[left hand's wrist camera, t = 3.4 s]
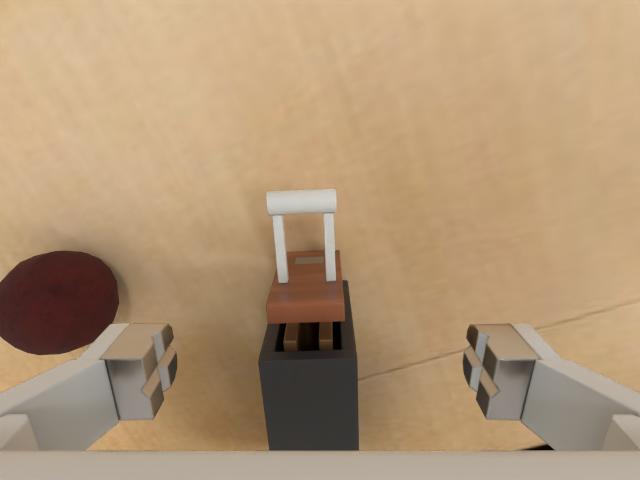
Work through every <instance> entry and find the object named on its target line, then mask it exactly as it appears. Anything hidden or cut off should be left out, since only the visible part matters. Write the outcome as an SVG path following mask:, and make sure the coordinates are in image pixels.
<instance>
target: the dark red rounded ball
mask: <svg viewBox="0 0 640 480" xmlns="http://www.w3.org/2000/svg"><path fill="white" fill-rule="evenodd" d="M118 305H119V298H118V290H117V281H116V279H115V277H114V275H113V273H112V271H111V270H110V268H109V267H108V266H107V265H106V264H104V263H103V262H102V261H101V260H100V259H98V258H96V257H94V256H92V255H89V254H87V253H83V252H74V251H54V252H50V253H46V254H41V255H37V256H34V257H32V258H29V259H27V260H25V261H22V262H20V263H19V264H18V265H17V266H16V267H15V268H14V269H12V270H11V271H10V272H9V273H8V275H7V276H6V277H5V278H4V279H3V280H2V281H1V282H0V337H2V338H3V339H4V340H5V341H7V342H8V343H9V344H11V345H12V346H14V347H15V348H17V349H20V350H22V351H24V352H27V353H31V354H36V355H50V354H62V353H66V352H70V351H73V350H75V349H78V348H80V347H83V346H85V345H88V344H90V343H92V342H94V341H95V340H96V339H97V338H98V337H99V336H100V335H101V334H102V333H103V331H104V330H105V329H106V328H107V327H108V326H109V325H110V324H112V323H113V320H114V318H115V315H116V312H117V308H118Z"/></svg>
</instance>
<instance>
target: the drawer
mask: <svg viewBox="0 0 640 480" xmlns="http://www.w3.org/2000/svg"><path fill="white" fill-rule="evenodd" d="M266 206H267V212H268V214H269V215H273V216H272V221H273V231H274V241H275V252H276V262H277V270H276V273H275V277H274V280H273V284H272V287H271V291H270V294H269V298H268V301H267V305H266V310H267V319H268V324H280V323H287V324H286V330H285V336H284V342H283V343H284V352H288V351H319V350H334V344H333V322H338V321H345V310H344V295H343V284H342V273H341V262H340V252H339V250H335V241H334V214H333V212H337V199H336V189H335V188H333V189H311V190H288V191H268V192H267V195H266ZM306 213H323V221H324V242H325V251H308V252H286V242H285V230H284V219H283V214H306Z"/></svg>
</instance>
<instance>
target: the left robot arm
mask: <svg viewBox="0 0 640 480" xmlns="http://www.w3.org/2000/svg"><path fill="white" fill-rule="evenodd" d="M173 338H174V336H173V331H172V327H171V326H170V325H169V324H146V323H133V324H132V323H114V324H110V325H109V326H108V327H107V328H106V329H105V330H104V331H103V333H102V334H101V335H100V336H99V337H98V338H97V339H96V340H95V341H94V342H93V343H92V344H91V345H90V346H89V347H88V348H87V349H86V351H85V352H84V353H83V354H82V355H81V356H80V357H79V358H78V359H77V360H69V361H67V362H65V363H63V364H61V365H58V366H56V367H54V368H52V369H50V370H48V371H46V372H44V373H42V374H39V375H37V376H35V377H33V378H31V379H29V380H27V381H25V382H22V383H20V384H18V385H16V386H14V387H12V388H10V389H8V390H5V391H3V392H1V393H0V480H640V393H639V392H636V391H634V390H632V389H630V388H628V387H626V386H624V385H622V384H620V383H617V382H615V381H613V380H611V379H609V378H607V377H605V376H603V375H601V374H598V373H596V372H594V371H592V370H590V369H588V368H586V367H584V366H582V365H579V364H577V363H575V362H573V361H571V360H563V359H562V358H561V357H560V356H559V355H558V354H557V353H556V352H555V351H554V349H553V348H552V347H551V346H550V345H549V344H548V343H547V342H546V341H545V340H544V339H543V338H542V337H541V336H540V335H539V334H538V332H537V331H536V330H535V329H534V328H533V327H532V326H531V325H529V324H527V323H508V324H474V325H470V326H469V328H468V330H467V336H466V338H467V340H468V342H469V343H470V346H469V347H468V348H467V349H466V350H465V351H464V356H463V370H464V375H465V378H466V381H467V383H468V385H469V387H470V388H472V389H473V390H475V391H476V392H477V396H476V401H477V402H478V404H479V406H480V408H481V410H482V412H483V414H484V416H485V418H486V419H487V420H521V423H523V424H524V425H525V426H526V427H527V428H529V429H530V430H531V431H532V432H534V433H535V434H536V435H537V436H539V437H540V438H541V439H542V440H543V441H545V442H546V443H547V444H548V445H550V446H551V447H552V448H553V449H555V450H556V451H84V450H86V449H87V448H88V447H89V446H91V445H92V444H93V443H94V442H95V441H97V440H98V439H99V438H100V437H102V436H103V435H104V434H105V433H107V432H108V431H109V430H110V429H111V428H113V427H114V426H115V425H116V424H118V423H119V420H154V418H155V416H156V414H157V412H158V410H159V408H160V406H161V404H162V402H163V401H164V396H163V392H164V391H165V390H167V389H168V388H170V387H171V385H172V383H173V381H174V379H175V375H176V370H177V355H176V351H175V350H174V349H173V348H172V347H171V346H170V343H171V342H172V340H173Z"/></svg>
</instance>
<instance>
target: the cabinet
mask: <svg viewBox="0 0 640 480" xmlns="http://www.w3.org/2000/svg"><path fill="white" fill-rule="evenodd" d="M342 284H343V295H344V310H345V321H338V322H333V344H334V350H319V351H288V352H284V343H283V342H284V336H285V330H286V324H287V323H280V324H268V326H267V330H266V334H265V338H264V342H263V345H262V349H261V353H260V357H259V360H258V364H259V371H260V379H261V387H262V395H263V403H264V411H265V419H266V427H267V435H268V443H269V450H270V451H359V432H358V375H357V353H356V345H355V337H354V328H353V320H352V312H351V304H350V296H349V288H348V281H342Z"/></svg>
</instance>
